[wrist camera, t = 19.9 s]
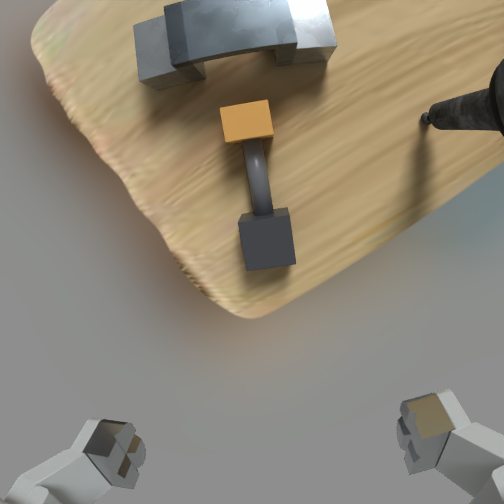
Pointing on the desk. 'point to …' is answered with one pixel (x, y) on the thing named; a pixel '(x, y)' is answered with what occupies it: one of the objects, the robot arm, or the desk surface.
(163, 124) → the desk surface
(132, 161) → the desk surface
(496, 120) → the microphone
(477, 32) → the desk surface
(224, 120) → the plug
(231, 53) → the block
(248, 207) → the desk surface
